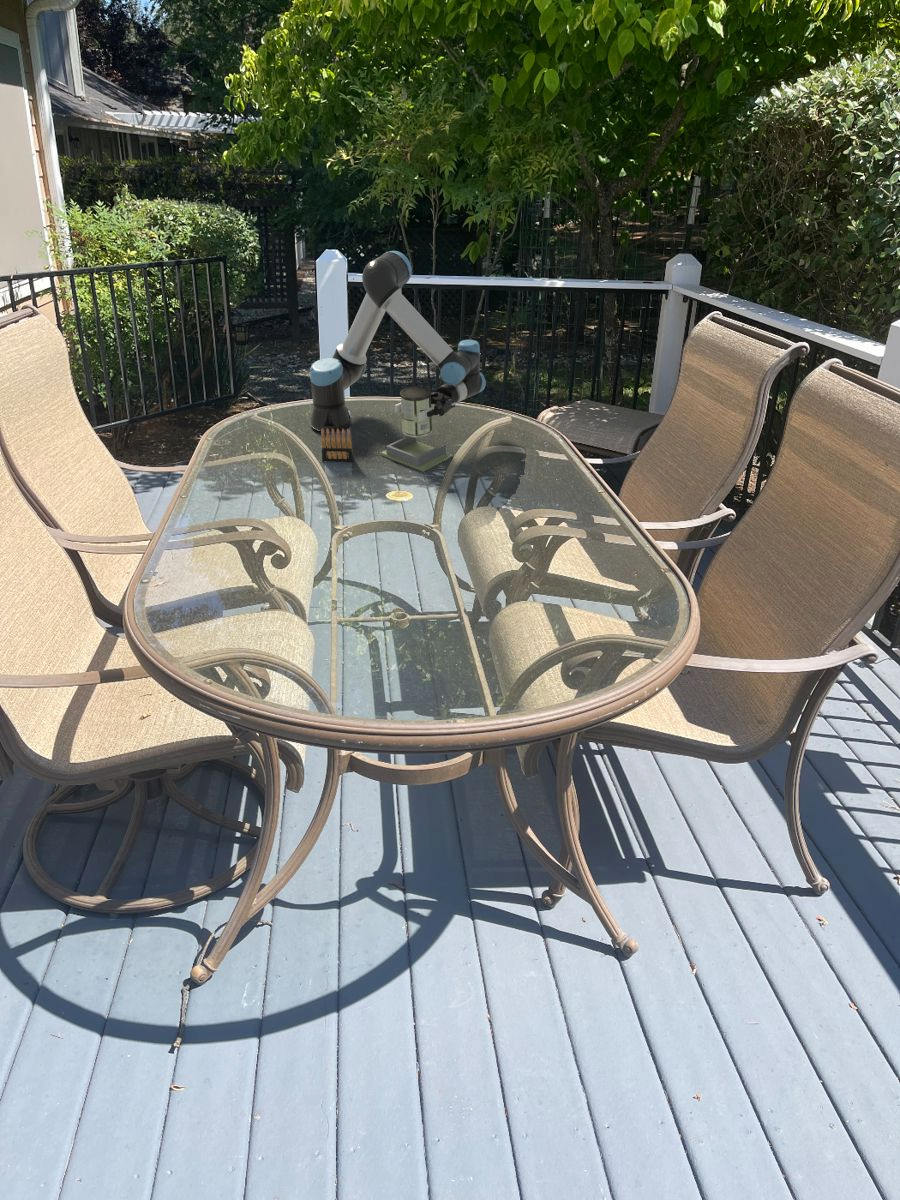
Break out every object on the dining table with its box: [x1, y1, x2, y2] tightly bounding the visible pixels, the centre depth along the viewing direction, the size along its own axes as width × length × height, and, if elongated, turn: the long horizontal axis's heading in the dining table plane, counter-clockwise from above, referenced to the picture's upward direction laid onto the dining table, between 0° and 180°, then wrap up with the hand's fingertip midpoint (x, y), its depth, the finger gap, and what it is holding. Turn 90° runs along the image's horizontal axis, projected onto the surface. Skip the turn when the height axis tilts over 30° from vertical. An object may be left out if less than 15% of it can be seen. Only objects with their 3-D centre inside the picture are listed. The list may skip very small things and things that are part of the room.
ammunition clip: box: [320, 428, 355, 463], centre depth 298 cm, size 11×2×12 cm, turn 87°
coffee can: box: [399, 385, 433, 438], centre depth 296 cm, size 10×10×14 cm
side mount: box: [379, 435, 449, 473], centre depth 303 cm, size 20×15×4 cm
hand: (407, 413), depth 292 cm, fingers closed on coffee can, 10 cm apart
